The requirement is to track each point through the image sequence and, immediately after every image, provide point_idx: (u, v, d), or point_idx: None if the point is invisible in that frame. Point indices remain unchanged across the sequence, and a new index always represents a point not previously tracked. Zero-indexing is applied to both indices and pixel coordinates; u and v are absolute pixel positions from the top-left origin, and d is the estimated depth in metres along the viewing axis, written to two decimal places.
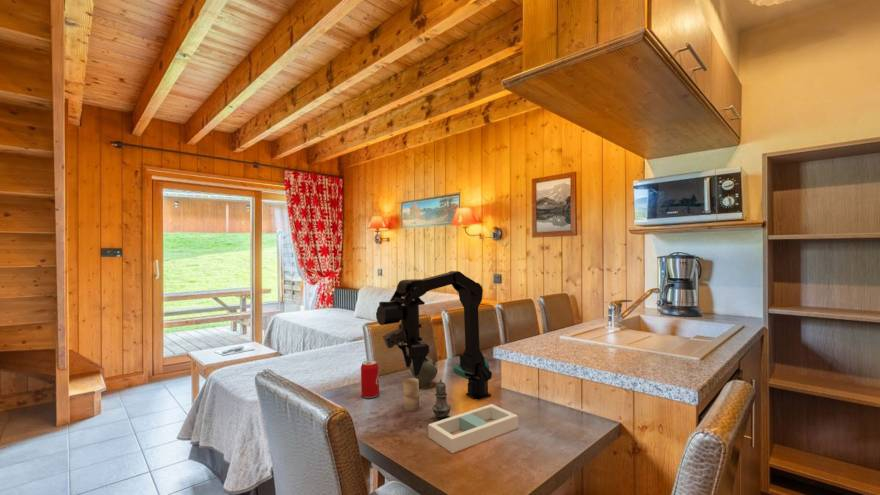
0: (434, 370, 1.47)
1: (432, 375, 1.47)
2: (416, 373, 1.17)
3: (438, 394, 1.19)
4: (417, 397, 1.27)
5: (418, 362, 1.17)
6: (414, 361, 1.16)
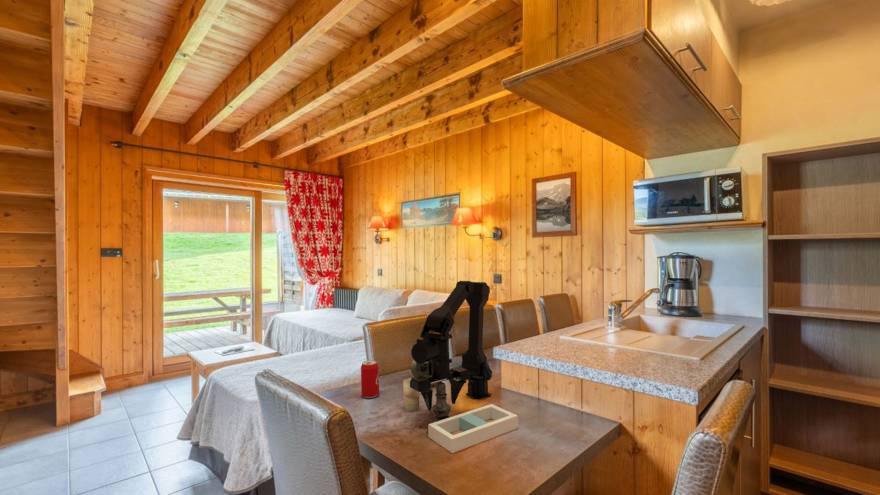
0: None
1: None
2: (428, 408, 1.17)
3: (438, 394, 1.19)
4: (417, 397, 1.27)
5: (426, 398, 1.16)
6: (423, 395, 1.17)
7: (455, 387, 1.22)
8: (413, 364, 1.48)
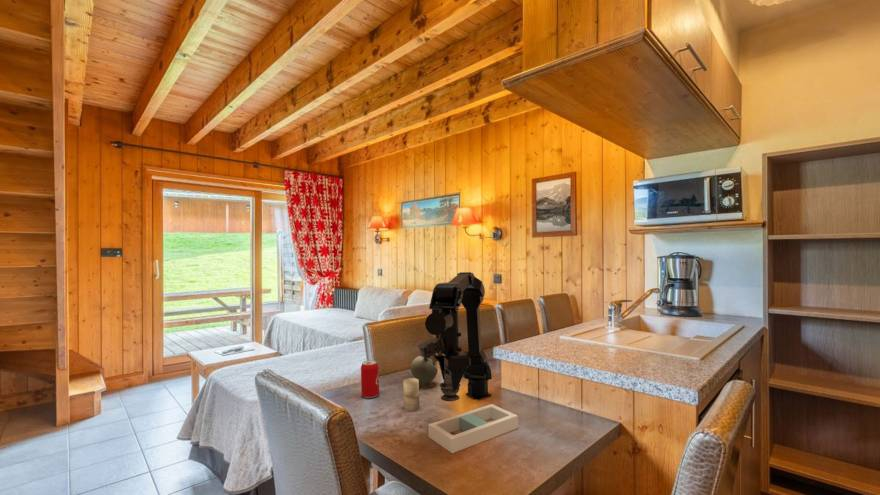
0: (434, 370, 1.47)
1: (432, 375, 1.47)
2: (455, 387, 1.06)
3: None
4: (417, 397, 1.27)
5: (457, 375, 1.05)
6: (453, 374, 1.04)
7: None
8: (413, 364, 1.48)
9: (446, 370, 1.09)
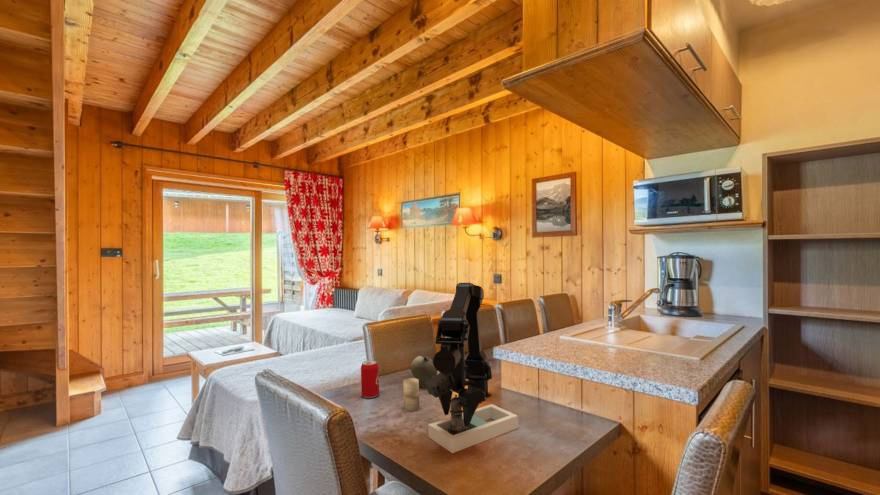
0: (434, 370, 1.47)
1: (432, 375, 1.47)
2: (467, 424, 1.03)
3: (452, 410, 1.06)
4: (417, 397, 1.27)
5: (470, 411, 1.02)
6: (467, 410, 1.01)
7: (447, 395, 1.11)
8: (413, 364, 1.48)
9: None
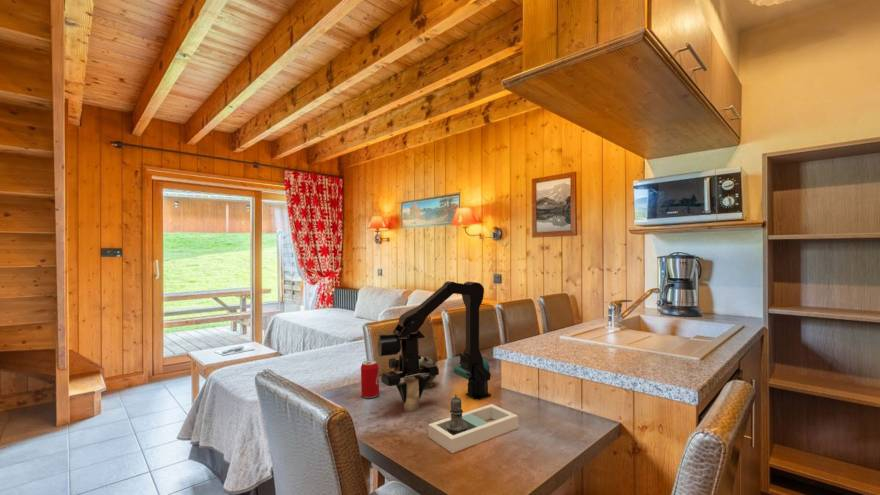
0: None
1: None
2: (403, 400, 1.27)
3: (452, 411, 1.06)
4: (417, 397, 1.27)
5: (401, 390, 1.26)
6: (398, 388, 1.27)
7: (420, 383, 1.30)
8: None
9: None
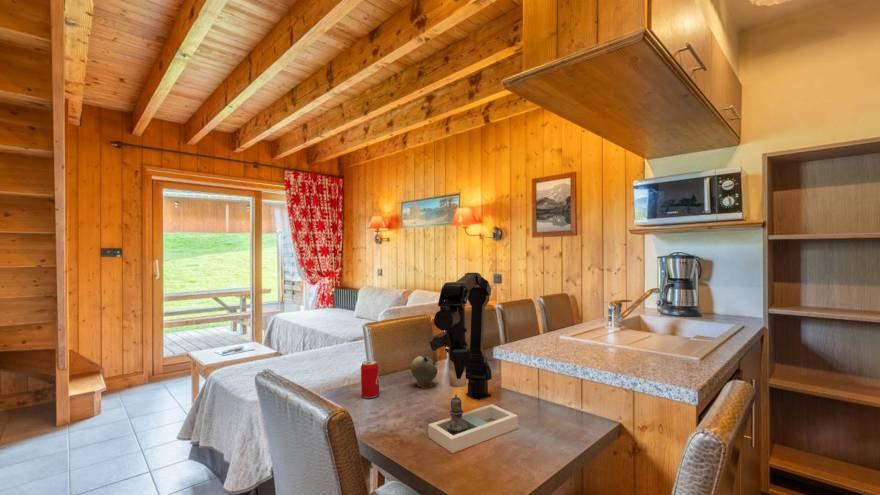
0: (434, 370, 1.47)
1: (432, 375, 1.47)
2: (458, 377, 1.16)
3: (452, 411, 1.06)
4: None
5: (460, 366, 1.15)
6: (456, 364, 1.15)
7: None
8: (413, 364, 1.48)
9: None
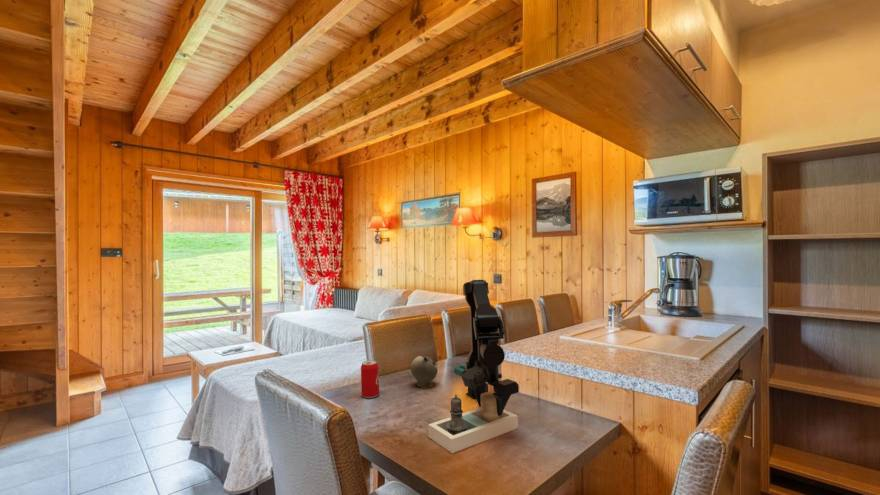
0: (434, 370, 1.47)
1: (432, 375, 1.47)
2: (500, 413, 1.10)
3: (452, 411, 1.06)
4: None
5: (503, 401, 1.09)
6: (500, 401, 1.09)
7: (481, 388, 1.18)
8: (413, 364, 1.48)
9: None
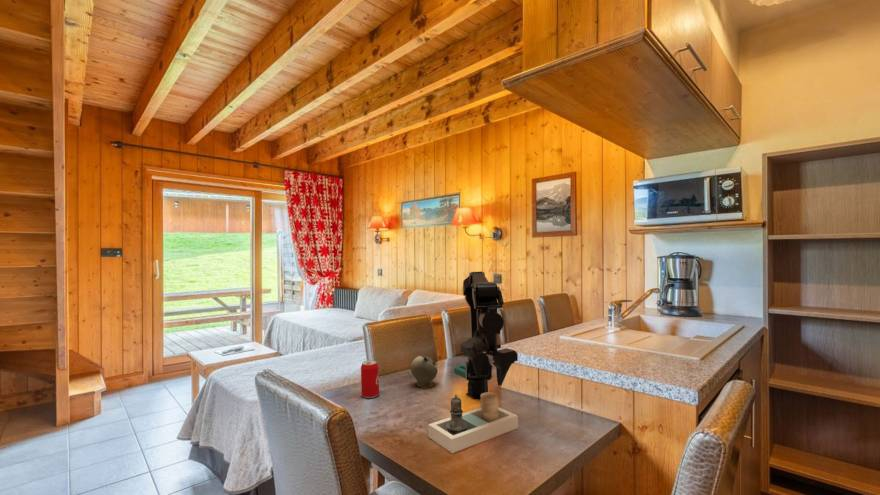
0: (434, 370, 1.47)
1: (432, 375, 1.47)
2: (500, 383, 1.09)
3: (452, 411, 1.06)
4: None
5: (503, 371, 1.09)
6: (500, 370, 1.08)
7: (479, 359, 1.18)
8: (413, 364, 1.48)
9: None
